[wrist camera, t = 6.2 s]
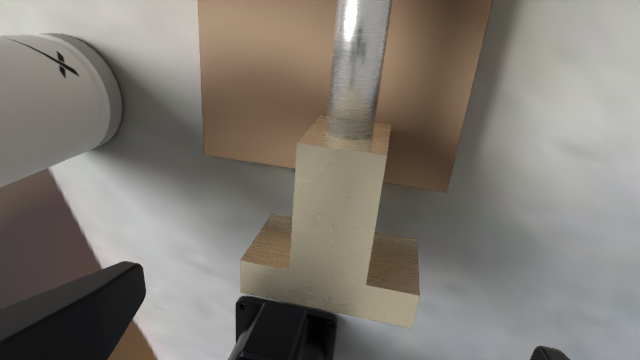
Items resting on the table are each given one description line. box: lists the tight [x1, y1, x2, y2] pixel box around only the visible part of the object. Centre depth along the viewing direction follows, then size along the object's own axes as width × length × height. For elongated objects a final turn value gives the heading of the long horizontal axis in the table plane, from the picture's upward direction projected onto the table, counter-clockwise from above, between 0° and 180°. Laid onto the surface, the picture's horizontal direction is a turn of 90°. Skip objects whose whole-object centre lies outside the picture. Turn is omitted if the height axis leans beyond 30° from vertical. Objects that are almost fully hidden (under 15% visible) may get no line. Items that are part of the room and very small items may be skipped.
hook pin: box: [241, 0, 420, 328], centre depth 14 cm, size 14×7×4 cm, turn 175°
